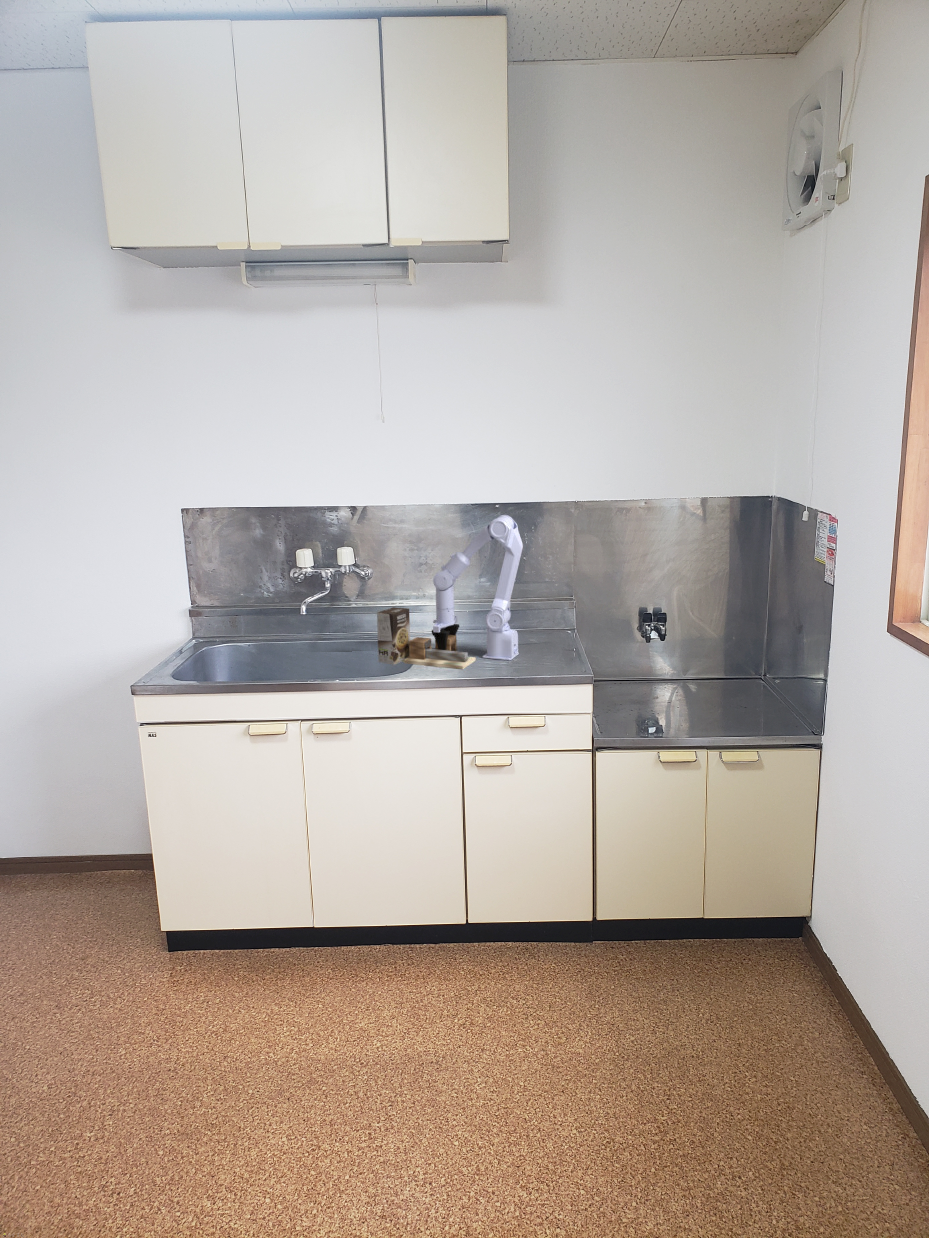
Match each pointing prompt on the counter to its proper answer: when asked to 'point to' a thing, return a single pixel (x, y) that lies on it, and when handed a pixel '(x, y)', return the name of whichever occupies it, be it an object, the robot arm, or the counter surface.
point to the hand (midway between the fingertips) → (446, 649)
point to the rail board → (439, 662)
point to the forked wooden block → (450, 643)
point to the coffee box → (393, 635)
